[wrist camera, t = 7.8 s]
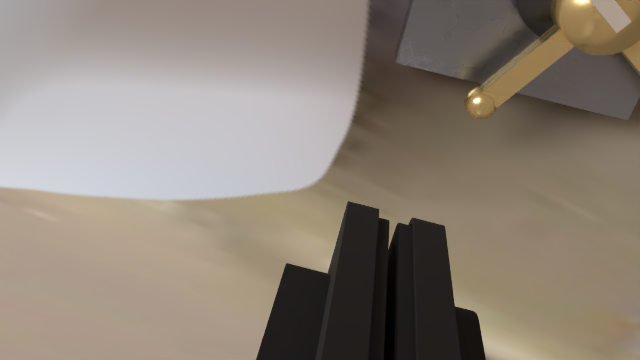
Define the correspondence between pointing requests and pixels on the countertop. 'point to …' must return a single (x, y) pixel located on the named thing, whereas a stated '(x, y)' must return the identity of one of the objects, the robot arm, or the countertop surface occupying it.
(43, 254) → the countertop surface
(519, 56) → the capstan
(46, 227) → the countertop surface
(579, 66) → the stand
